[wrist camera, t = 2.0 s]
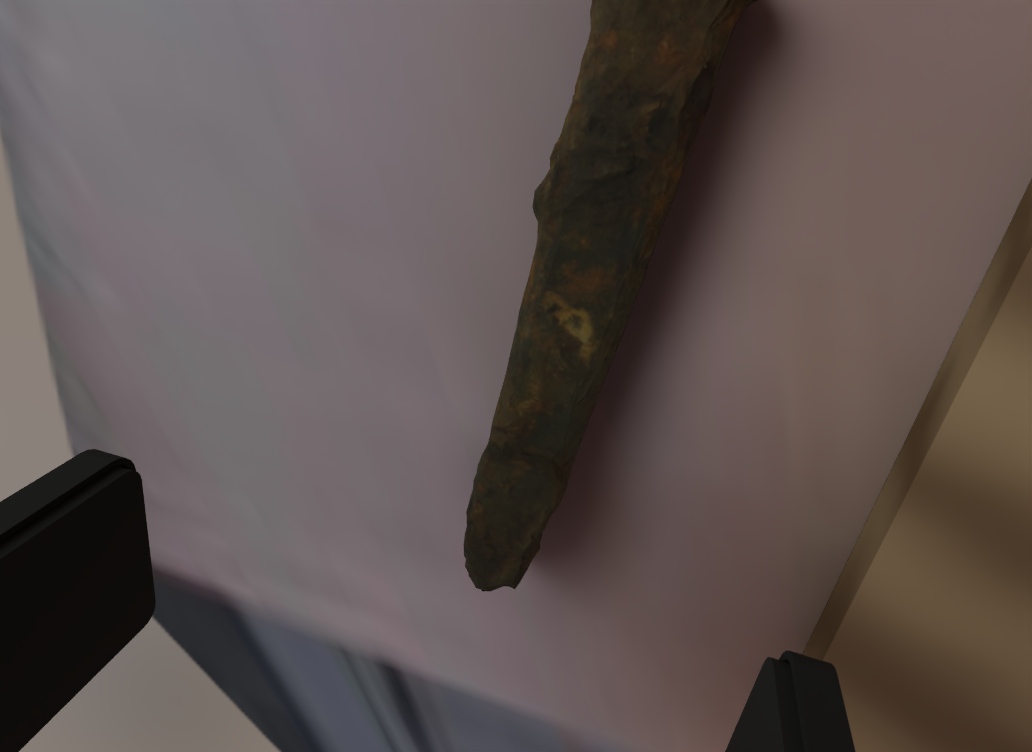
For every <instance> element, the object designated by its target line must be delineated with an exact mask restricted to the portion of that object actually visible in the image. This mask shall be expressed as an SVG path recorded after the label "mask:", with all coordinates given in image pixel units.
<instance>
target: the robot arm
mask: <svg viewBox="0 0 1032 752" xmlns="http://www.w3.org/2000/svg"><path fill="white" fill-rule="evenodd" d="M155 601H156V600H155V592H154V583H153V574H152V565H151V557H150V548H149V539H148V530H147V522H146V513H145V504H144V495H143V487H142V479H141V476H140V474H139V473H138V472H136V469H135V466H134V464H133V462H132V461H131V460H129V459H127V458H124V457H120V456H117V455H113V454H110V453H106V452H103V451H99V450H96V449H91V450H87V451H84V452H82V453H80V454H78V455H77V456H75V457H73V458H72V459H70V460H69V461H67V462H65V463H64V464H62V465H60V466H59V467H57V468H55V469H54V470H52V471H50V472H49V473H47V474H45V475H44V476H42V477H41V478H39V479H37V480H36V481H34V482H33V483H31V484H29V485H28V486H26V487H24V488H23V489H21V490H19V491H18V492H16V493H14V494H13V495H11V496H9V497H8V498H6V499H4V500H3V501H1V502H0V752H19V751H20V750H21V748H23V747H24V746H25V745H26V744H27V743H28V741H30V740H31V739H32V738H33V737H34V736H35V735H36V734H37V733H38V732H39V731H40V730H41V729H42V728H43V727H44V726H45V725H46V724H47V723H48V722H49V721H50V720H51V719H52V718H53V717H54V716H55V715H56V714H57V713H58V712H59V711H60V710H61V709H62V708H63V707H64V706H65V705H66V704H67V703H68V702H69V701H70V700H71V699H72V698H73V697H74V696H75V695H76V694H77V693H78V692H79V691H80V690H81V689H82V688H83V687H84V686H85V685H86V684H87V683H88V682H89V681H90V680H91V679H92V678H93V677H94V676H95V675H96V674H97V673H98V672H99V671H100V670H101V669H102V668H103V667H104V666H105V665H106V664H107V663H108V662H109V661H110V660H111V659H113V658H114V656H115V655H117V654H118V653H119V652H120V651H121V649H123V648H124V647H125V645H127V644H128V643H129V642H130V641H131V640H132V638H134V637H135V636H136V634H137V633H139V632H140V631H141V630H142V629H143V628H144V626H145V625H146V624H147V623H148V622H149V620H150V618H151V617H152V614H153V612H154V609H155ZM725 752H856V751H855V747H854V743H853V739H852V734H851V730H850V726H849V722H848V717H847V713H846V709H845V705H844V700H843V696H842V692H841V687H840V683H839V679H838V675H837V672H836V669H835V667H834V666H833V664H832V663H829V662H825V661H822V660H818V659H815V658H811V657H808V656H805V655H801V654H798V653H794V652H791V651H785V652H784V653H783V654H782V656H781V657H780V659H779V660H777V659H774V658H770V657H768V658H767V659H766V660H765V662H764V664H763V666H762V668H761V670H760V673H759V675H758V677H757V680H756V682H755V684H754V687H753V689H752V691H751V693H750V696H749V698H748V700H747V703H746V705H745V707H744V710H743V712H742V714H741V717H740V719H739V721H738V723H737V726H736V728H735V730H734V733H733V735H732V737H731V740H730V742H729V744H728V747H727V749H726V751H725Z"/></svg>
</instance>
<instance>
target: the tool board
mask: <svg viewBox="0 0 1032 752" xmlns="http://www.w3.org/2000/svg"><path fill="white" fill-rule="evenodd" d="M802 655H805V656H808V657H811V658H815V659H818V660H822V661H825V662H829V663H832V664H833V666H834V667H835V669H836V672H837V675H838V679H839V683H840V687H841V692H842V696H843V700H844V705H845V709H846V713H847V717H848V722H849V726H850V730H851V734H852V739H853V743H854V747H855V751H856V752H1032V179H1031V182H1030V184H1029V186H1028V188H1027V190H1026V192H1025V194H1024V196H1023V198H1022V200H1021V202H1020V204H1019V206H1018V208H1017V211H1016V213H1015V215H1014V217H1013V219H1012V221H1011V223H1010V225H1009V227H1008V229H1007V231H1006V233H1005V235H1004V238H1003V240H1002V242H1001V244H1000V246H999V248H998V250H997V252H996V254H995V256H994V258H993V260H992V262H991V264H990V267H989V269H988V271H987V273H986V275H985V277H984V279H983V281H982V283H981V285H980V287H979V289H978V291H977V294H976V296H975V298H974V300H973V302H972V304H971V306H970V308H969V310H968V312H967V314H966V316H965V318H964V320H963V323H962V325H961V327H960V329H959V331H958V333H957V335H956V337H955V339H954V341H953V343H952V345H951V347H950V350H949V352H948V354H947V356H946V358H945V360H944V362H943V364H942V366H941V368H940V370H939V372H938V374H937V376H936V379H935V381H934V383H933V385H932V387H931V389H930V391H929V393H928V395H927V397H926V399H925V401H924V403H923V406H922V408H921V410H920V412H919V414H918V416H917V418H916V420H915V422H914V424H913V426H912V428H911V430H910V432H909V435H908V437H907V439H906V441H905V443H904V445H903V447H902V449H901V451H900V453H899V455H898V457H897V459H896V462H895V464H894V466H893V468H892V470H891V472H890V474H889V476H888V478H887V480H886V482H885V484H884V486H883V488H882V491H881V493H880V495H879V497H878V499H877V501H876V503H875V505H874V507H873V509H872V511H871V513H870V515H869V518H868V520H867V522H866V524H865V526H864V528H863V530H862V532H861V534H860V536H859V538H858V540H857V542H856V544H855V547H854V549H853V551H852V553H851V555H850V557H849V559H848V561H847V563H846V565H845V567H844V569H843V571H842V574H841V576H840V578H839V580H838V582H837V584H836V586H835V588H834V590H833V592H832V594H831V596H830V598H829V600H828V603H827V605H826V607H825V609H824V611H823V613H822V615H821V617H820V619H819V621H818V623H817V625H816V627H815V630H814V632H813V634H812V636H811V638H810V640H809V642H808V644H807V646H806V648H805V650H804V652H803V654H802Z"/></svg>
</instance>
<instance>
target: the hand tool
mask: <svg viewBox="0 0 1032 752" xmlns="http://www.w3.org/2000/svg"><path fill="white" fill-rule="evenodd" d="M755 1H756V0H592V6H591V11H590V16H591V32H590V36H589V40H588V44H587V47H586V50H585V52H584V55H583V58H582V62H581V68H580V72H579V76H578V79H577V82H576V86H575V94H574V96H573V100H572V104H571V106H570V109H569V111H568V114H567V116H566V119H565V122H564V126H563V130H562V133H561V135H560V137H559V139H558V142H557V143H556V144H555V146H554V149H553V152H552V154H551V157H550V170H549V172H548V173H547V175H546V177H545V179H544V180H543V181H542V183H541V184H540V185H539V186H538V188H537V189H536V190H535V194H534V201H533V210H534V213H535V216H536V218H537V220H538V239H537V246H536V250H535V254H534V258H533V262H532V266H531V270H530V275H529V278H528V282H527V285H526V289H525V292H524V296H523V300H522V303H521V307H520V311H519V317H518V323H517V328H516V332H515V335H514V340H513V344H512V348H511V353H510V358H509V362H508V367H507V372H506V375H505V379H504V382H503V386H502V390H501V393H500V397H499V400H498V404H497V407H496V411H495V414H494V418H493V422H492V427H491V433H490V439H489V442H488V445H487V447H486V449H485V450H484V452H483V454H482V456H481V459H480V462H479V464H478V469H477V474H476V476H475V479H474V485H473V491H472V494H471V498H470V501H469V505H468V508H467V528H466V532H465V539H464V556H465V558H466V563H465V567H466V569H467V571H468V573H469V577H470V578H471V580H472V581H473V583H474V585H475V587H476V588H478V589H481V590H482V591H492V590H495V589H497V588H500V587H503V586H509V587H512V588H514V589H515V588H516V587H517V586H518V584H519V583H520V581H521V579H522V578H523V576H524V574H525V572H526V571H527V569H528V567H529V565H530V563H531V561H532V559H533V558H534V556H535V555H536V553H537V552H538V550H539V549H540V540H541V536H542V532H543V530H544V528H545V527H546V524H547V522H548V520H549V518H550V516H551V515H552V513H553V512H554V511H555V509H556V508H557V506H558V505H559V503H560V501H561V499H562V496H563V494H564V492H565V489H566V486H567V482H568V478H569V474H570V471H571V468H572V464H573V462H574V457H575V455H576V453H577V450H578V447H579V445H580V442H581V440H582V437H583V434H584V431H585V428H586V426H587V423H588V420H589V418H590V415H591V413H592V410H593V408H594V405H595V401H596V399H597V396H598V393H599V390H600V388H601V385H602V383H603V381H604V378H605V376H606V374H607V371H608V369H609V366H610V364H611V361H612V359H613V356H614V354H615V351H616V349H617V347H618V344H619V342H620V339H621V337H622V334H623V331H624V329H625V326H626V323H627V321H628V318H629V315H630V312H631V309H632V306H633V303H634V301H635V298H636V296H637V294H638V291H639V289H640V287H641V284H642V281H643V278H644V275H645V272H646V269H647V266H648V263H649V260H650V258H651V255H652V252H653V249H654V247H655V244H656V241H657V239H658V236H659V233H660V231H661V228H662V226H663V223H664V220H665V218H666V215H667V213H668V210H669V208H670V205H671V203H672V200H673V198H674V196H675V193H676V190H677V186H678V183H679V180H680V177H681V174H682V170H683V167H684V165H685V163H686V161H687V159H688V156H689V154H690V151H691V149H692V146H693V143H694V141H695V138H696V136H697V133H698V130H699V128H700V125H701V123H702V121H703V119H704V117H705V114H706V112H707V109H708V107H709V104H710V100H711V96H712V92H713V88H714V84H715V80H716V76H717V73H718V70H719V67H720V63H721V60H722V57H723V54H724V52H725V49H726V46H727V43H728V41H729V38H730V35H731V32H732V30H733V28H734V26H735V24H736V22H737V20H738V19H739V17H740V15H741V14H742V12H743V10H744V8H746V7H747V6H749V5H750V4H751V3H753V2H755Z"/></svg>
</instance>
